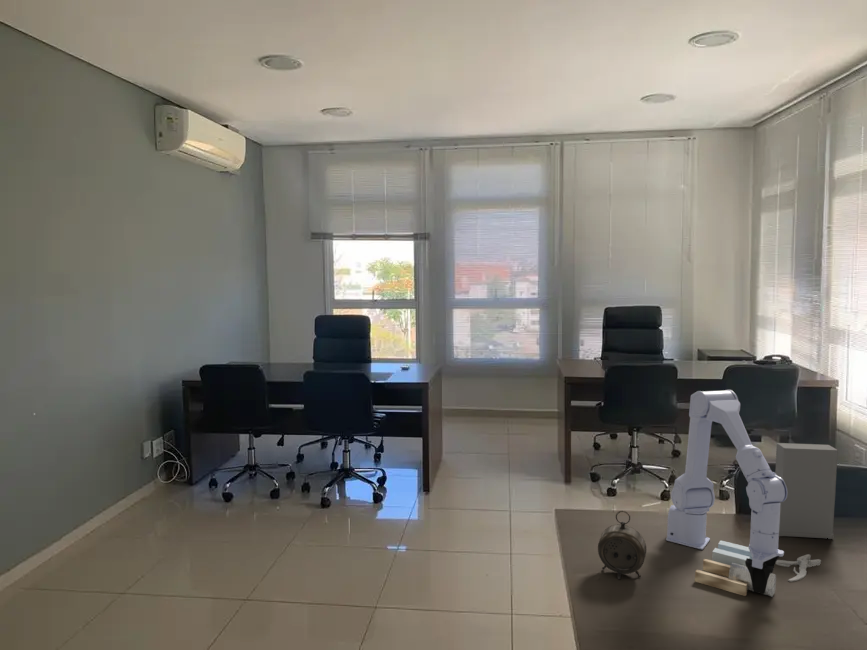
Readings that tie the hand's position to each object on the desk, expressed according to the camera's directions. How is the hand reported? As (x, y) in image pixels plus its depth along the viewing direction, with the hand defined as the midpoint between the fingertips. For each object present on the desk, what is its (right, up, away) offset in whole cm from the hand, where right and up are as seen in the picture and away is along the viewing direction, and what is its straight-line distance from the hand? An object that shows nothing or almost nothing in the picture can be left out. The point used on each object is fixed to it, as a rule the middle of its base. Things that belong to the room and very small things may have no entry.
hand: (761, 586), depth 144 cm
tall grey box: (+28, +1, +32) cm, 42 cm away
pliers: (+14, -1, +12) cm, 19 cm away
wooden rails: (-6, -1, +5) cm, 8 cm away
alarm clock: (-30, -1, +8) cm, 31 cm away
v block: (0, 0, +13) cm, 13 cm away
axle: (-2, -1, +1) cm, 3 cm away
